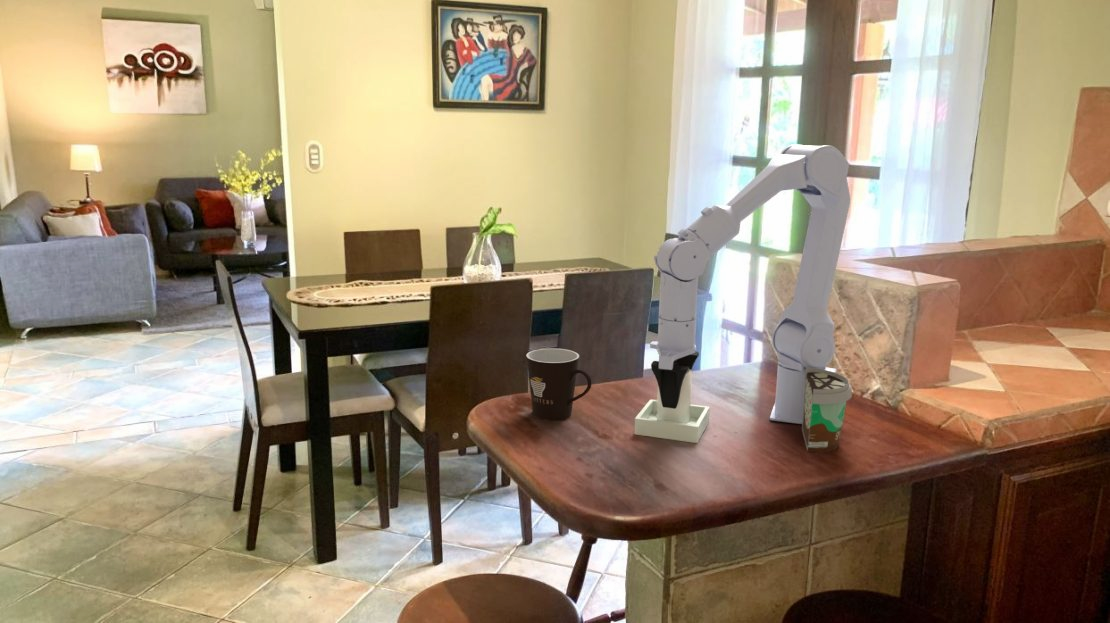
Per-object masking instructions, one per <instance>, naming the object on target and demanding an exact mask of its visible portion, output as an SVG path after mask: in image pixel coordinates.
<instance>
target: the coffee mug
mask: <svg viewBox="0 0 1110 623" xmlns="http://www.w3.org/2000/svg"><path fill="white" fill-rule="evenodd" d="M525 356H526V364H527V365H526V366H527V373H528V382H529V384H528V385H529V390H530V392H529V393H530V400H531V409H532V415H533V416H534V417H535V416H536V417H535V418H537V417H538V418H537V419H539V418H541V419H540V420H544V419H545V420H544V421H562V420H566V419H568V418H570V417H571V416H572V412H573V405H574V402H575V401H577V400H579V399H581V398H583V397H584V396H586V394H588V393H589V391H590V390H591V388H592V378H591V376H590V374H589V373H588V372H587V371H585V370H584V369H580V368H579V359H580V354H579V353H578V352H575V351H573V350H570V349H565V348H541V349H540V348H538V349H535V350H531V351H528V352H527V353H526V355H525ZM578 368H579V369H578ZM577 374H581V375H583V376H584V377H585V379H586V382H587V387H586V389H584V391H583V392H581V393H579V394H577V395H575V389H576V388H575V387H576V382H577ZM546 419H547V420H546ZM561 419H562V420H561Z"/></svg>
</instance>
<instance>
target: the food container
mask: <svg viewBox="0 0 1110 623" xmlns="http://www.w3.org/2000/svg"><path fill="white" fill-rule="evenodd" d="M852 397H853V394H852V387H851V384H850V382H849V379H848V378H847V377H846V376H844V375H842V374H840V373H837V372H836V373H835V372H831V371H828V370H823V369H817V368H807V367H806V374H805V393H804V407H803V422H802V424H801V431H802V436H803V439H804V443H805V448H806V451H807V453H826V452H831V451H834V450H836V449H837V448H838V447H839V444H840V440H841V435H842V434H841V433H842V428H843V421H844V418H845V410H846V405H847V401H849V400H851V398H852Z"/></svg>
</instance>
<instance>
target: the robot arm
mask: <svg viewBox="0 0 1110 623" xmlns="http://www.w3.org/2000/svg"><path fill="white" fill-rule="evenodd" d="M849 169H850V163H849V161H848V160H847V158H846V157H845V156H844V155H843V153H842V152H841V151H840V150H839V149H838V148H836V146H833V145H828V144H827V145H806V144H805V145H803V144H801V143H800V144H799V143H793V144H790V145H788V146H786V147H785V148H784V149H783V150H782V151H781V152H780V153H778V154H776V155H774V156H773V157H771V159H770V161H769V163H768V164H767V165H766V167H764V168H763V169H762V170H761V171H760V172H759V173H758V174H757V175H756V176H754V178H753V179H752V180H751V181H750V182H749V183H747V185H745V187H743V188H742V190H740V191H739V192H738V193H737V194H736V195H735V196H733V198H731V200H730V201H729V202H727V203H726V205H719V204H716V205H715V204H714V205H712V206H711V207H708V206H706V207H704V208H703V209H702V210H701V211H700V213H701V215H700V217H698V218H697V219H696V220H695V221H693V222H692V223H691V224H690V225H689V226H688V227H687V228H686V229H684V228H681V230H679V231H678V232H677V234H678V237H674V238H669V239H667V240H665V241H663V243H661V245H660V246H659V248H658V251H657V252H656V255H654V257H653V258H654V259H653V261H654V264H655V266H656V268H657V269H658V271H659V273H660V280H659V282H660V284H659V299H658V300H659V304H658V328H657V340H656V341H655V340H653V341H651V342H650V343H649V348H650V349H655V350H656V351H657V354H658V360H653V361H652V362H651V364H650V369H651V371H652V373H653V375H654V376H655V380H656V382H657V387H658V386H659V391H660V397H661V402H662V406H663V407H666V408H674V409H676V407H677V405H678V401H679V397H680V391H681V386H682V383H683V380H684V377H685V375H686V373H687V371H688V369H690V370H693V367H694V366H695V363H696V361H697V359H698V357H699V356H700V355H699V354H700V353H699V352H698V351H697V345H696V334H697V332H696V328H697V311H698V310H697V308H698V291H699V290H698V286H699V277H700V276H702V275H703V274H704V272H705V270H706V267H707V263H708V261H709V260H710V259H711V258H712V257H713V256H714V255H716V253H718V251H720V250H721V249H722V248H723V247H725V246H726V245H727V244H729V242H730V241H732V240H733V239H734V238H735V237H737V236H738V235H739V233H740V231H741V230H740V229H741V222H742V221H744V220H745V219H746V218H747V217H749V216H751V215H752V213H754V212H755V211H756V210H759V208H761V207H762V206H763V205H764V204H766V203H767V202H769V201H770V200H771V199H772V198H774V197H775V196H777V195H778V194H779V193H780V192H782V191H783V192H784V191H790V190H791V191H792V190H796V191H798V192H800V194H801V195H802V196H803V197H804V199H805V200H806V202H808V204H809V205H810V206H811V212H810V216H809V221H808V224H807V226H808V227H807V232H806V235H805V239H804V245H803V251H802V255H801V259H800V264H799V269H798V274H797V279H796V283H795V288H794V292H793V297H792V303H790V305H788V306H786V308H784V309H783V310H782V311H781V315H780V319H779V321H778V323H777V324H776V326H775V327H774V328H773V331H772V333H771V339H770V340H771V345H772V348H773V349H774V351H775V352H776V353H777V360H778V361H777V370H776V371H777V373H776V374H777V375H776V387H775V402H774V404H773V407H772V410H771V413H770V415H769V420H770V421H773V422H780V423H781V422H782V423H789V424H798V425H802V422H803V407H804V393H805V374H806V367H807V368H817V369H823V370H828V371H831V372H835V373H837V369H836V368H833V367H828V365H829V364H830V363H831V361H832V360H833V358H834V355H835V352H836V344H835V339H834V333H835V328H836V326H835V323H834V321H833V319H832V317H831V315H830V314H829V312H828V307H829V302H830V298H831V292H832V288H833V285H834V279H835V274H836V270H837V265H838V260H839V257H840V251H841V247H842V242H843V239H844V233H845V229H846V224H847V220H848V214H849V209H850V205H851V194H850V189H849V188H850V187H849V184H848V178H847V176H848V174H849Z"/></svg>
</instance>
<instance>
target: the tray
mask: <svg viewBox="0 0 1110 623" xmlns="http://www.w3.org/2000/svg"><path fill="white" fill-rule="evenodd" d="M710 409H711V408H710V406H707V405H697V404H690V421H689V422H688V423H687V424H683V423H676V422H669V421H661V420H657V419H656V417H657V399H649V401H648V402H646V404H645V406H643V408H642V409H641V410H640V412H639V413H638V414H637V415H636V416H635V417H634V435H638V436H645V437H651V438H658V439H659V438H660V439H665V440H671V441H681V442H685V443H687V442H688V443H692V444H693V443H695V444H698V443H699V441H700V440H701V437H702V435H703V433H704V431H705V430H706V428H707V426H708V425H709V423H710V412H711V411H710Z"/></svg>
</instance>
